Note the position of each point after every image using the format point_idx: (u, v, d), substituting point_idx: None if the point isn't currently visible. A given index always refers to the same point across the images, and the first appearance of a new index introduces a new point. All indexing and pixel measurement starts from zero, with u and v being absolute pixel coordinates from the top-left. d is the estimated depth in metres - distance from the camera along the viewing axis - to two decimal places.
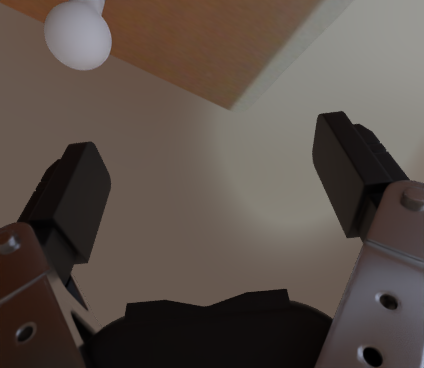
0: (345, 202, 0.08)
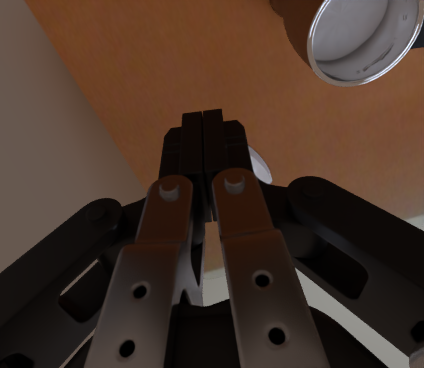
0: None
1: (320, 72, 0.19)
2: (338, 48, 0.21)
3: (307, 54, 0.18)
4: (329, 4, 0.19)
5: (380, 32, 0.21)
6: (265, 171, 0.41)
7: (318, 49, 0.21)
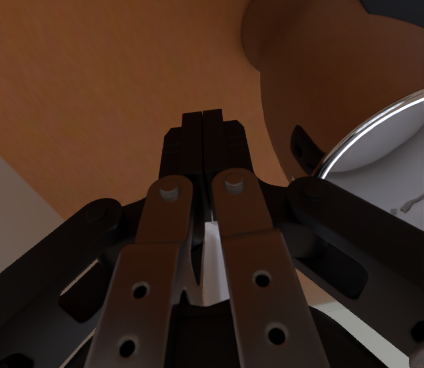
0: None
1: None
2: (355, 158, 0.13)
3: None
4: None
5: None
6: None
7: None
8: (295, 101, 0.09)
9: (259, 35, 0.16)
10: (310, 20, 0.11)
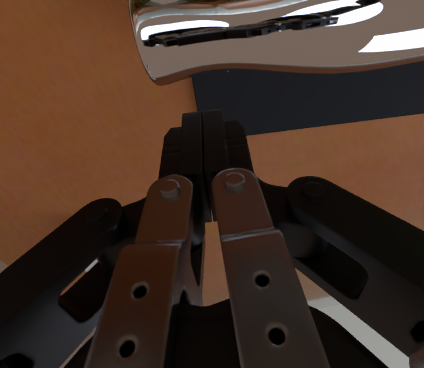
0: None
1: None
2: None
3: None
4: None
5: None
6: None
7: None
8: None
9: None
10: None
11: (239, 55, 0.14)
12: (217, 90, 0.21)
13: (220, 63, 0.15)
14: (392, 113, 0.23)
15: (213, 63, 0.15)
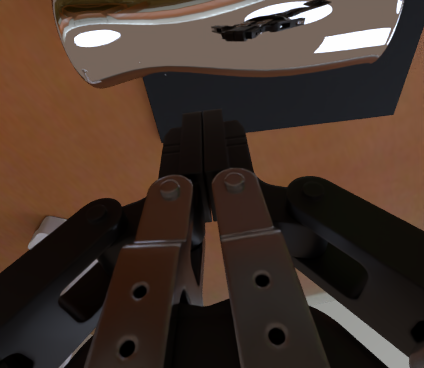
0: None
1: None
2: None
3: None
4: None
5: None
6: None
7: None
8: None
9: None
10: None
11: (168, 58, 0.15)
12: (170, 93, 0.22)
13: (153, 67, 0.15)
14: (347, 116, 0.24)
15: (146, 66, 0.15)
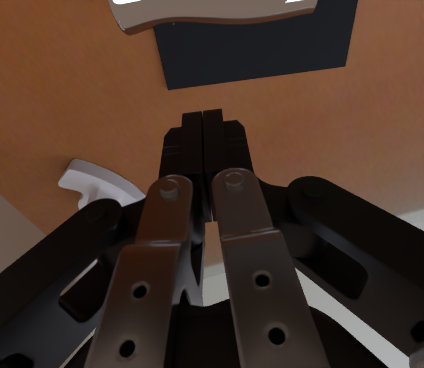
0: None
1: None
2: None
3: None
4: None
5: None
6: (132, 198, 0.40)
7: None
8: None
9: None
10: None
11: (176, 9, 0.22)
12: (175, 47, 0.29)
13: (165, 15, 0.22)
14: (310, 67, 0.31)
15: (160, 15, 0.22)
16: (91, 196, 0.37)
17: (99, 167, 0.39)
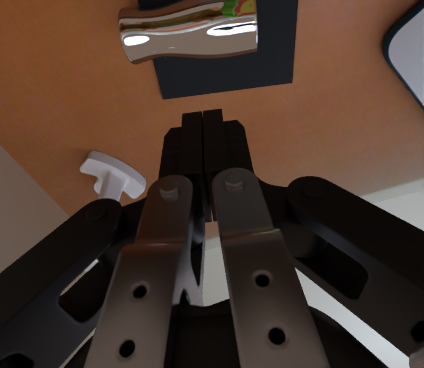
0: None
1: None
2: None
3: (255, 13, 0.30)
4: None
5: None
6: (136, 181, 0.52)
7: None
8: None
9: (149, 13, 0.32)
10: None
11: (166, 49, 0.33)
12: (167, 69, 0.40)
13: (159, 53, 0.34)
14: (266, 83, 0.42)
15: (156, 53, 0.34)
16: (105, 179, 0.49)
17: (111, 157, 0.51)
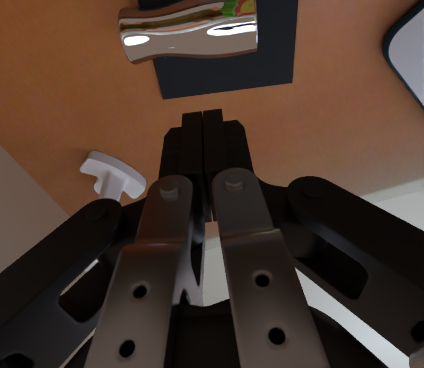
0: None
1: None
2: None
3: (255, 13, 0.30)
4: None
5: None
6: (136, 181, 0.52)
7: None
8: None
9: (149, 13, 0.32)
10: None
11: (166, 49, 0.33)
12: (167, 69, 0.40)
13: (159, 53, 0.34)
14: (266, 83, 0.42)
15: (156, 53, 0.34)
16: (105, 179, 0.49)
17: (111, 157, 0.51)
